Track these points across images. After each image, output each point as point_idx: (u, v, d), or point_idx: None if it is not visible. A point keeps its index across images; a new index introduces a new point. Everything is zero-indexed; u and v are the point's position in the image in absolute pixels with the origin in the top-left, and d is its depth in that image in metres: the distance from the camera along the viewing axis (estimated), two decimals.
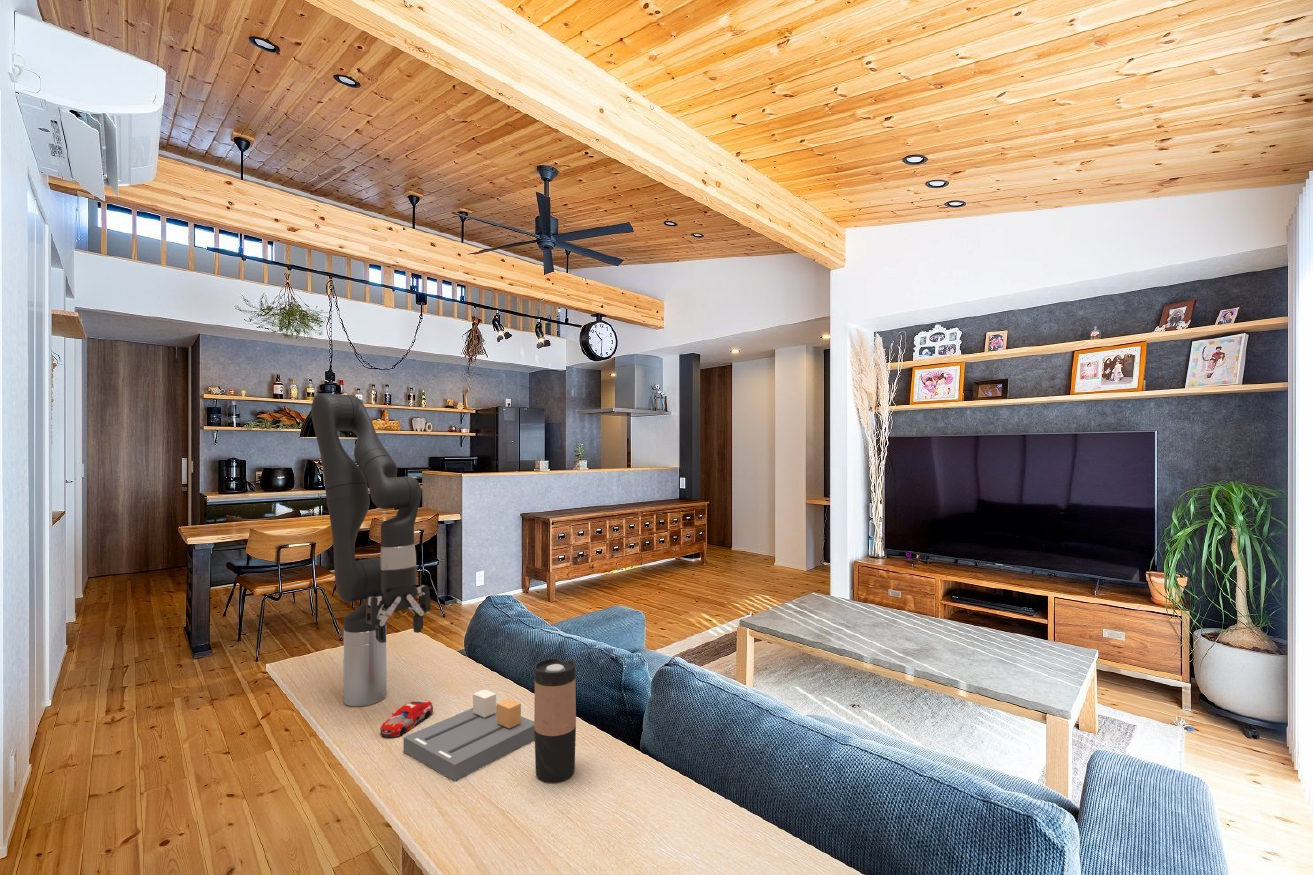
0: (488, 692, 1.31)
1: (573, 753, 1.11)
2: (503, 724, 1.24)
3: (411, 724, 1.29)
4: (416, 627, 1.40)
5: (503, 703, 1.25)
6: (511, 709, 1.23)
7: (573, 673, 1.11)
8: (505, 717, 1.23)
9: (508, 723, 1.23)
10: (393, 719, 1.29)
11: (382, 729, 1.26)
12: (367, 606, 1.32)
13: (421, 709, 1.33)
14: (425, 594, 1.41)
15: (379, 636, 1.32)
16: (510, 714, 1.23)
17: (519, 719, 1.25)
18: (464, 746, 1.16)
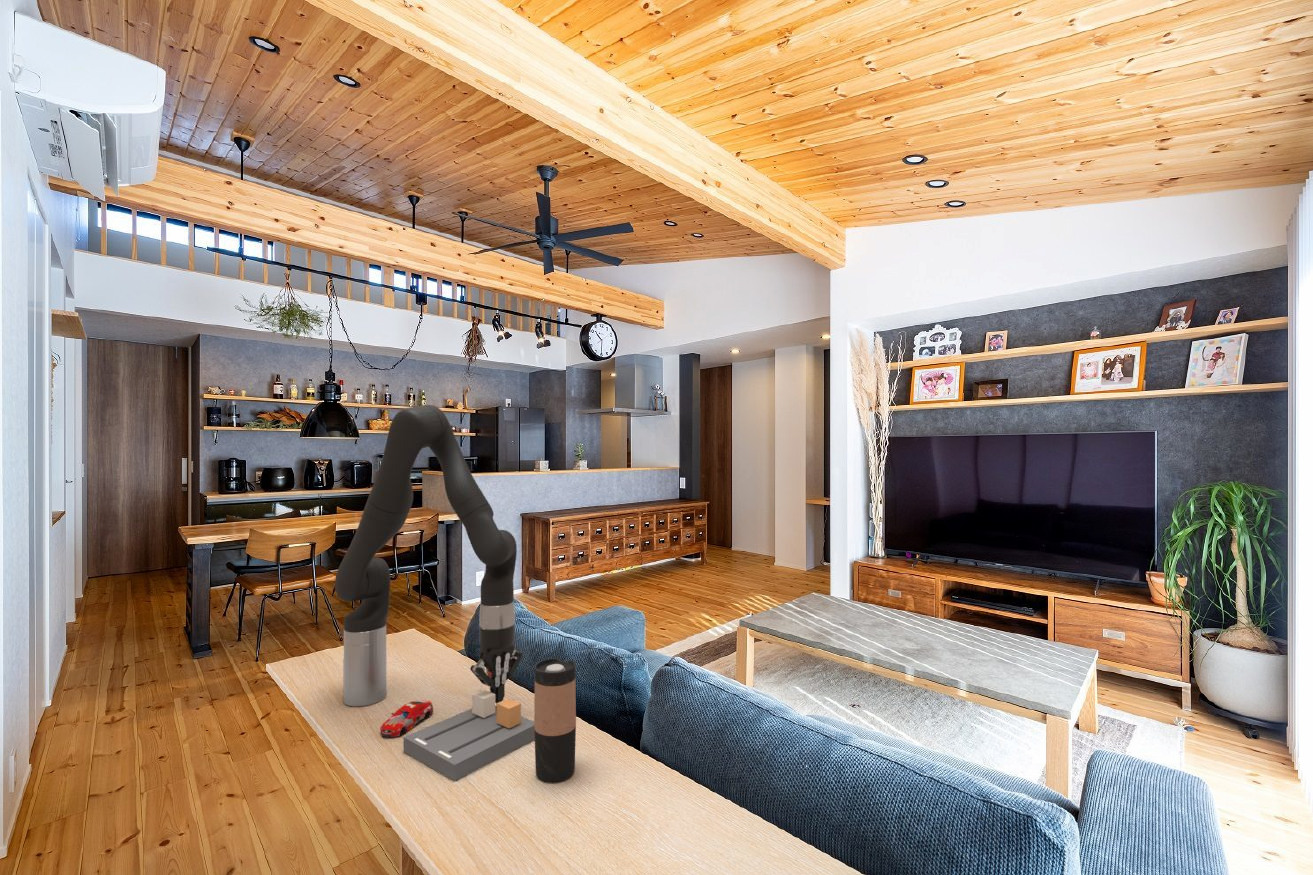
0: (487, 692, 1.30)
1: (573, 753, 1.11)
2: (503, 724, 1.24)
3: (411, 724, 1.29)
4: None
5: (503, 703, 1.25)
6: (511, 709, 1.23)
7: (573, 673, 1.11)
8: (505, 717, 1.23)
9: (508, 723, 1.23)
10: (393, 719, 1.29)
11: (382, 729, 1.26)
12: (475, 675, 1.29)
13: (421, 709, 1.33)
14: (516, 660, 1.36)
15: None
16: (510, 714, 1.23)
17: (519, 719, 1.25)
18: (464, 746, 1.16)
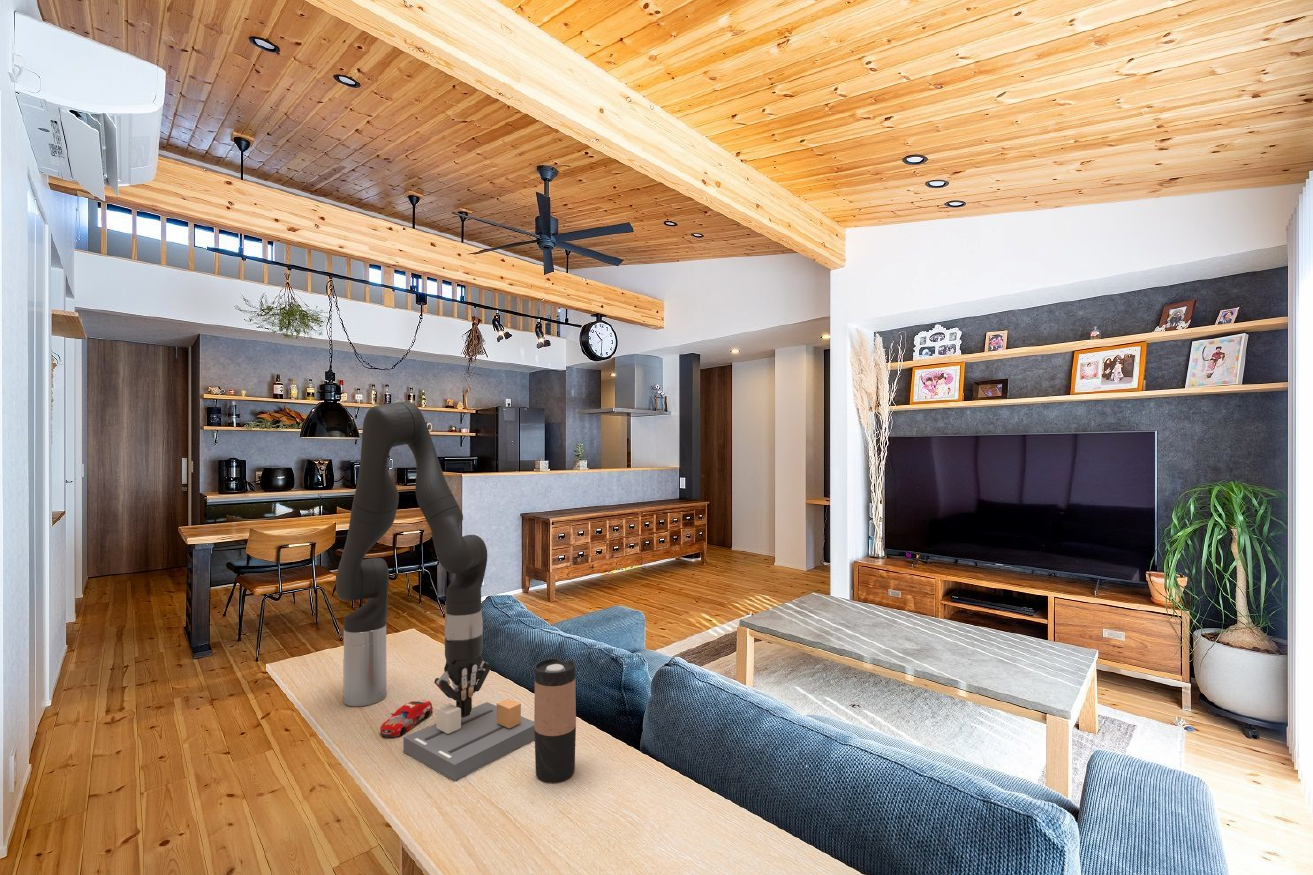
0: (453, 706, 1.24)
1: (573, 753, 1.11)
2: (503, 724, 1.24)
3: (411, 724, 1.29)
4: None
5: (503, 703, 1.25)
6: (511, 709, 1.23)
7: (573, 673, 1.11)
8: (505, 717, 1.23)
9: (508, 723, 1.23)
10: (393, 719, 1.29)
11: (382, 729, 1.26)
12: (440, 688, 1.22)
13: (421, 709, 1.33)
14: (484, 672, 1.29)
15: None
16: (510, 714, 1.23)
17: (519, 719, 1.25)
18: (464, 746, 1.16)
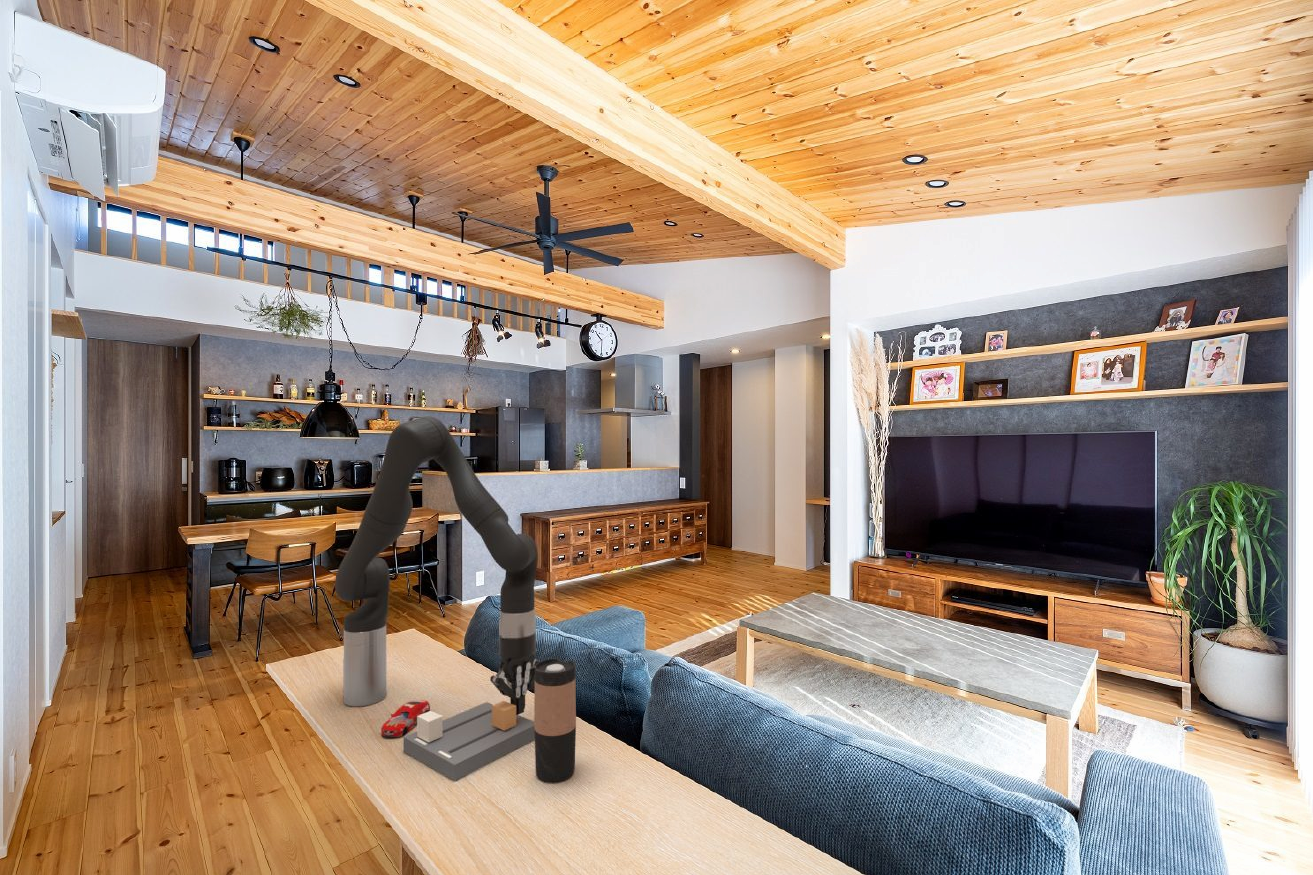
0: (434, 714, 1.20)
1: (573, 753, 1.11)
2: (498, 726, 1.23)
3: (412, 724, 1.29)
4: None
5: (499, 705, 1.24)
6: (507, 711, 1.22)
7: (573, 673, 1.11)
8: (500, 719, 1.22)
9: (503, 726, 1.22)
10: (394, 720, 1.28)
11: (384, 730, 1.26)
12: (495, 685, 1.24)
13: (420, 709, 1.33)
14: None
15: None
16: (505, 717, 1.22)
17: (514, 721, 1.24)
18: (464, 746, 1.16)
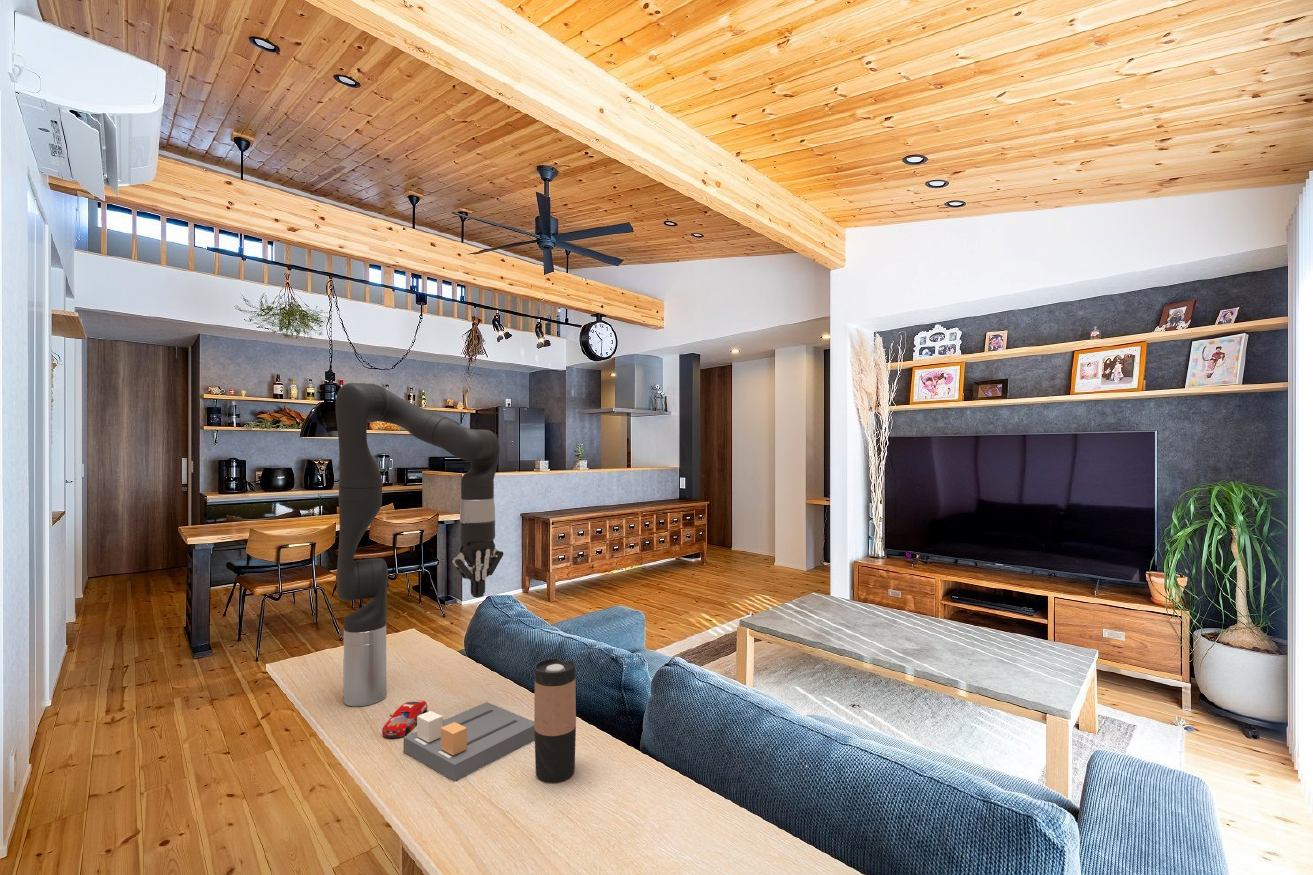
0: (434, 714, 1.20)
1: (573, 753, 1.11)
2: (447, 750, 1.13)
3: (413, 723, 1.30)
4: None
5: (448, 727, 1.15)
6: (456, 734, 1.13)
7: (573, 673, 1.11)
8: (449, 743, 1.13)
9: (451, 750, 1.12)
10: (394, 720, 1.28)
11: (386, 731, 1.25)
12: (456, 567, 1.31)
13: (419, 708, 1.33)
14: (497, 558, 1.37)
15: (475, 591, 1.33)
16: (454, 740, 1.13)
17: (465, 745, 1.14)
18: None
